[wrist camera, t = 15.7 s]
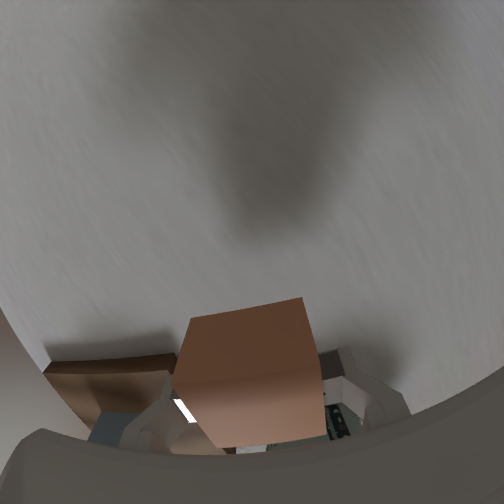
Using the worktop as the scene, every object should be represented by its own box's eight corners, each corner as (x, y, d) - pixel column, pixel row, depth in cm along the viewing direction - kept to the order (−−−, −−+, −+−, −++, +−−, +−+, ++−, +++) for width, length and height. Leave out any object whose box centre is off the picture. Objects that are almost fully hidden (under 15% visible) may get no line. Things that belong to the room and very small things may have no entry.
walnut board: (51, 361, 21) (42, 372, 19) (173, 352, 20) (167, 370, 18) (124, 446, 26) (120, 457, 24) (236, 450, 25) (235, 464, 23)
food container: (253, 399, 21) (252, 461, 15) (382, 386, 21) (404, 438, 15) (256, 456, 25) (256, 501, 19) (354, 446, 25) (364, 488, 19)
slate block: (101, 411, 20) (84, 447, 16) (144, 413, 20) (128, 456, 15) (129, 440, 22) (117, 474, 17) (170, 443, 22) (161, 482, 17)
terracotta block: (191, 317, 12) (170, 383, 8) (301, 297, 11) (320, 363, 8) (223, 387, 14) (216, 448, 10) (313, 373, 13) (326, 434, 10)
